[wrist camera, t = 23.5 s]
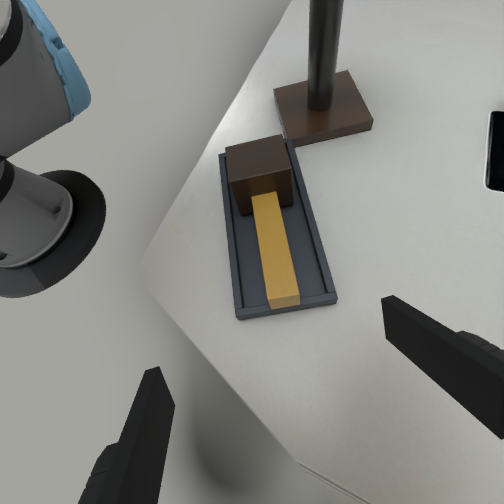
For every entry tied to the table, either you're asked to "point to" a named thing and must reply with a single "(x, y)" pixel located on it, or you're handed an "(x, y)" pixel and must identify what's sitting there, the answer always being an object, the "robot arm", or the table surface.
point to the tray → (300, 245)
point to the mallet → (266, 209)
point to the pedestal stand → (322, 86)
